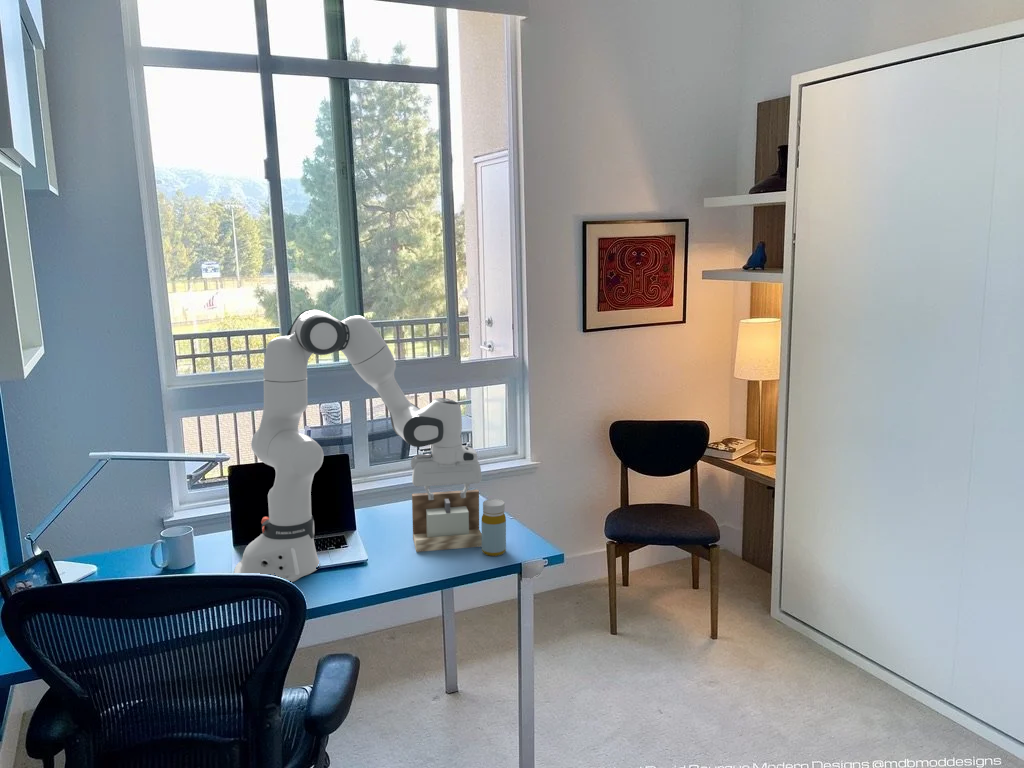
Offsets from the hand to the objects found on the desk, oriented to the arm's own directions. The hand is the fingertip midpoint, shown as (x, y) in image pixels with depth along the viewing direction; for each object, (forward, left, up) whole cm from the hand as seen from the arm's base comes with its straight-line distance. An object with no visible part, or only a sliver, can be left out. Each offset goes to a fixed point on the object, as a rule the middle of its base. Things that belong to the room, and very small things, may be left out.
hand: (447, 498), depth 223 cm
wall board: (0, 0, -14) cm, 14 cm away
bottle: (+12, -9, -14) cm, 21 cm away
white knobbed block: (0, 0, -12) cm, 12 cm away
